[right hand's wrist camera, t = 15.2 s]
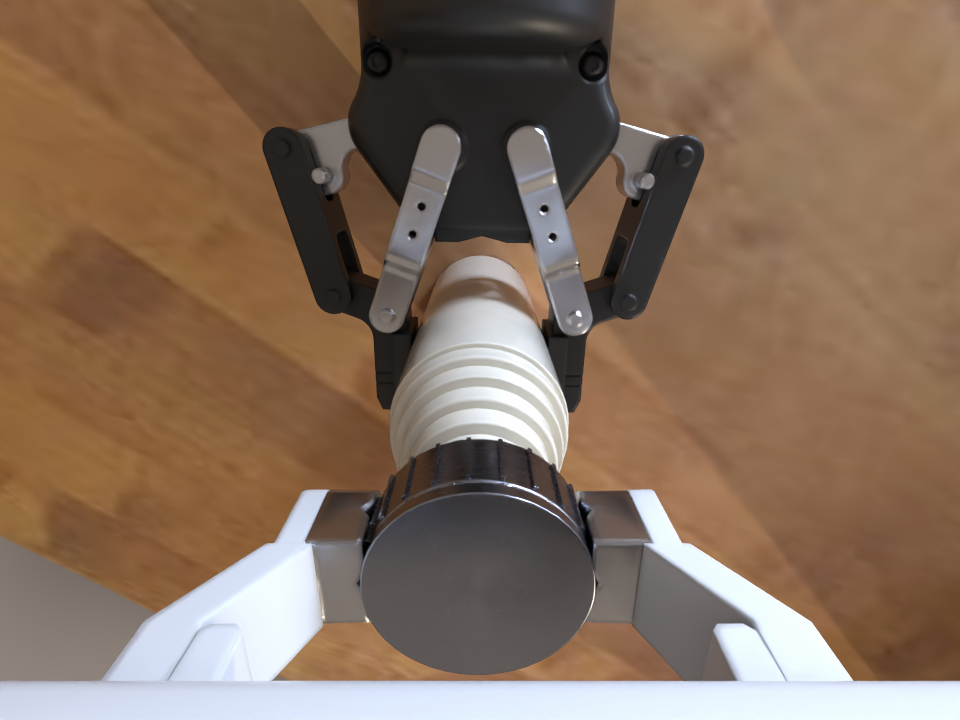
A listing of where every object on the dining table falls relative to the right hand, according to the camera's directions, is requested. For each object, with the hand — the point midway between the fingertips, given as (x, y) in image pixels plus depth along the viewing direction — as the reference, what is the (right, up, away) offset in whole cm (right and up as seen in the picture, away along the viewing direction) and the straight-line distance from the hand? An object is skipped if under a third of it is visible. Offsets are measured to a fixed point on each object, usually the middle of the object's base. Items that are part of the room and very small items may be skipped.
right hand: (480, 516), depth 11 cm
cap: (0, -1, -2) cm, 2 cm away
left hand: (0, +1, +10) cm, 10 cm away
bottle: (0, +6, +15) cm, 16 cm away
